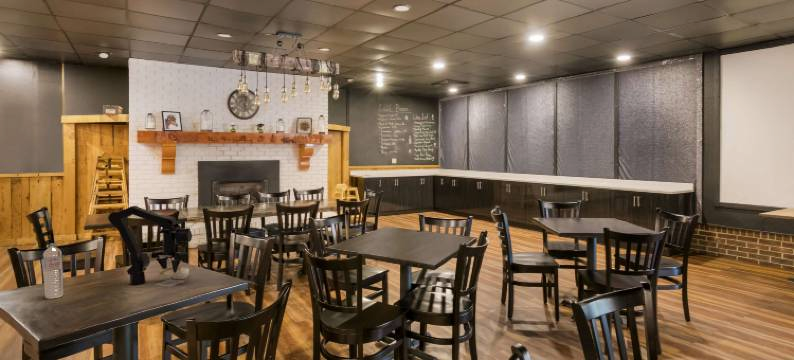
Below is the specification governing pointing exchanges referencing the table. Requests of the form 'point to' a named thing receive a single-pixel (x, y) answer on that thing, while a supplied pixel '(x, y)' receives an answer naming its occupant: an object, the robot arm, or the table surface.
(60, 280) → the water bottle
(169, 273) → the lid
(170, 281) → the mat
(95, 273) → the table surface
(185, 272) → the bowl
